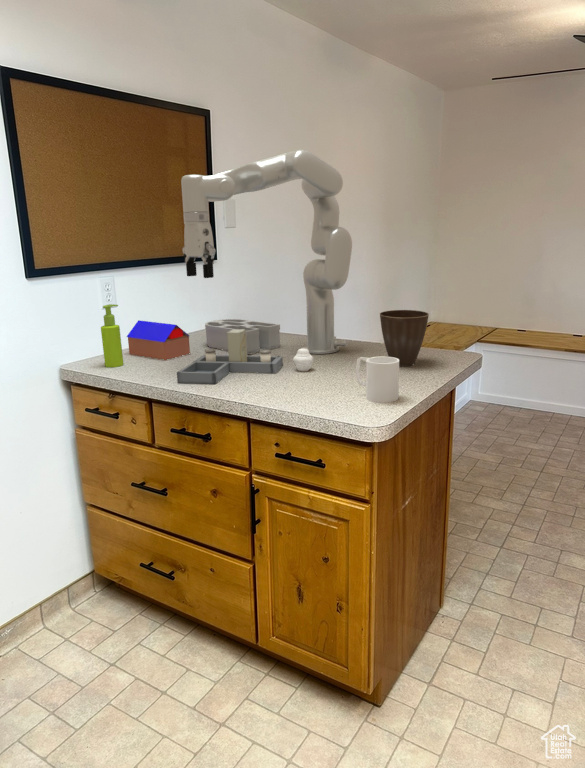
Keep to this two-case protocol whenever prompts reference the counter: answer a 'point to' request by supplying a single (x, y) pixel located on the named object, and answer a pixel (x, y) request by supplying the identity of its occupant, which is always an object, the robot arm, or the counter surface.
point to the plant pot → (403, 334)
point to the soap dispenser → (111, 340)
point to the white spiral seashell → (303, 359)
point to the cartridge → (265, 355)
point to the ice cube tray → (255, 332)
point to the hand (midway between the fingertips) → (200, 276)
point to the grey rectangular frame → (249, 364)
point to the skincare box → (237, 345)
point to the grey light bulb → (210, 354)
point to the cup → (380, 378)
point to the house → (158, 340)
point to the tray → (203, 372)
